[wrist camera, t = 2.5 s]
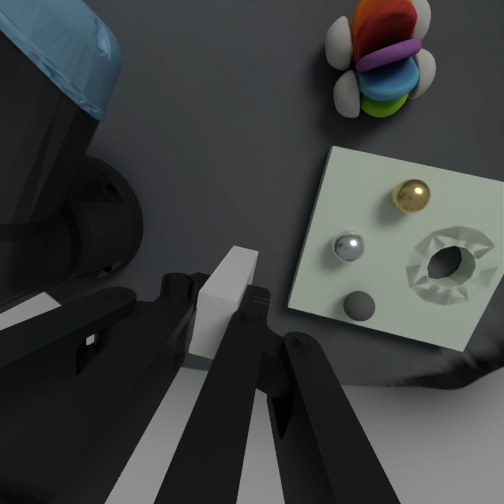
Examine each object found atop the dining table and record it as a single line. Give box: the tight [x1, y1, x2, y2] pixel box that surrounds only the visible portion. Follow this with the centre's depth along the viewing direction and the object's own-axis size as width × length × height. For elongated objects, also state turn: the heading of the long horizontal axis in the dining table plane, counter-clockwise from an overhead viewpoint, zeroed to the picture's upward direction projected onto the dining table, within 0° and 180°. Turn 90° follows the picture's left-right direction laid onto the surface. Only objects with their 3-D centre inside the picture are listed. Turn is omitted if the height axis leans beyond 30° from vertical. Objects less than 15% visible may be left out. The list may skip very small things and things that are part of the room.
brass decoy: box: [392, 179, 431, 214], centre depth 26 cm, size 3×3×3 cm
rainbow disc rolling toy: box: [325, 0, 436, 118], centre depth 24 cm, size 8×10×7 cm
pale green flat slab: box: [288, 146, 504, 352], centre depth 31 cm, size 20×18×2 cm
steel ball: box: [332, 231, 366, 262], centre depth 29 cm, size 3×3×3 cm
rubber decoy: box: [343, 291, 375, 321], centre depth 30 cm, size 3×3×3 cm
